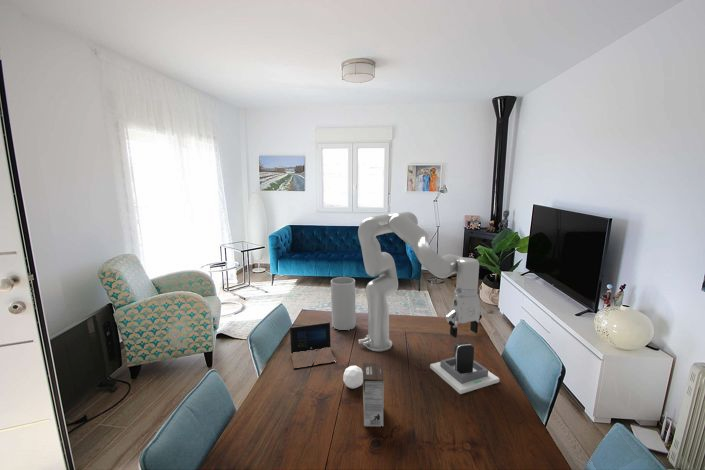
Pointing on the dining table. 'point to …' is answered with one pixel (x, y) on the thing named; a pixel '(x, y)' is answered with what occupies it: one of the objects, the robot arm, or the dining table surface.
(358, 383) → the geometric ball
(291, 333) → the laptop
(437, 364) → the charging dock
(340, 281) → the cylinder vase
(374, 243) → the robot arm
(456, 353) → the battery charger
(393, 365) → the dining table surface
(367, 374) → the coffee box
